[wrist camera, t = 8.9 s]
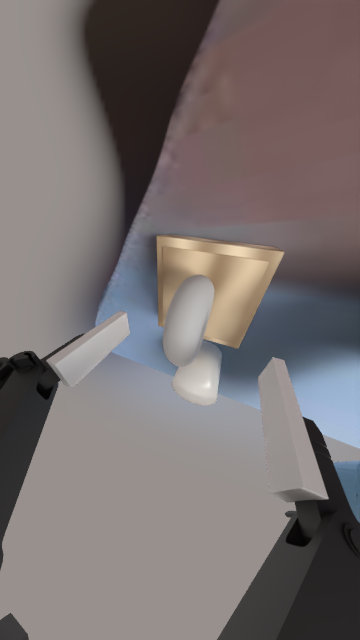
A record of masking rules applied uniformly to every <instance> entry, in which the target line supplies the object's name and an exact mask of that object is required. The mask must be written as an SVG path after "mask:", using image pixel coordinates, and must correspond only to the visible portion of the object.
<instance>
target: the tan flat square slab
mask: <svg viewBox="0 0 360 640" xmlns="http://www.w3.org/2000/svg"><path fill="white" fill-rule="evenodd" d="M283 254H284V252H283V251H282V250H280V249H278V248H276V247H269V246H261V245H253V244H245V243H237V242H228V241H220V240H212V239H204V238H196V237H187V236H179V235H171V234H168V235H159V236H157V276H158V326H161V327H164V324H165V320H166V315H167V312H168V309H169V306H170V303H171V301H172V298H173V296H174V294H175V292H176V290H177V289H178V287H179V286H180V285H181V283H182V282H183V281H184V280H185V279H187V278H188V277H191V276H193V275H204V276H206V277H208V278H209V279H210V280H211V282H212V283H213V286H214V290H215V292H214V300H213V305H212V309H211V313H210V317H209V320H208V324H207V328H206V331H205V334H204V338H203V339H206V340H209V341H213V342H216V343H219V344H223V345H226V346H230V347H233V348H236V349H239V346H240V344H241V342H242V340H243V338H244V336H245V334H246V332H247V330H248V328H249V326H250V323H251V321H252V319H253V317H254V315H255V313H256V311H257V309H258V307H259V305H260V303H261V300H262V298H263V296H264V294H265V292H266V290H267V288H268V286H269V284H270V282H271V280H272V277H273V275H274V273H275V271H276V269H277V267H278V265H279V263H280V261H281V259H282V257H283Z"/></svg>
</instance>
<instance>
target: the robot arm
mask: <svg viewBox="0 0 360 640" xmlns="http://www.w3.org/2000/svg"><path fill="white" fill-rule="evenodd" d="M129 334H130V330H129V324H128V318H127V313H126V312H123V311H119V312H117V313H116V314H114V315H113V316H111V317H110V318H108V319H107V320H105V321H104V322H102V323H101V324H99V325H98V326H96V327H95V328H93V329H92V330H90V331H89V332H88V333H86V334H81V335H79V336H77V337H75V338H73V339H72V340H70V342H67V343H66V344H65V345H62V346H61V347H59V348H58V349H56V350H55V351H53V352H52V353H50V354H49V355H47V356H46V357H44V358H42V359H41V360H40V359H39V358H38V357H37V356H36V354H35V353H34V352H32V351H24V352H21V353H18V354H16V355H14V356H12V357H11V358H9V359H8V358H5V357H3V358H0V569H1V565H2V562H3V551H2V541H3V537H4V534H5V531H6V529H7V526H8V523H9V520H10V518H11V515H12V512H13V509H14V507H15V504H16V501H17V498H18V496H19V493H20V490H21V487H22V485H23V482H24V479H25V476H26V473H27V471H28V468H29V465H30V463H31V460H32V457H33V454H34V451H35V448H36V446H37V443H38V440H39V438H40V435H41V432H42V429H43V427H44V424H45V421H46V418H47V415H48V413H49V410H50V407H51V405H52V401H53V399H54V396H55V393H56V391H57V388H58V382H59V381H60V380H61V381H62V382H63V383H64V384H65V385H66V386H68V387H70V388H73V387H74V386H75V385H76V384H77V383H78V382H79V381H80V380H81V379H82V378H83V377H84V376H86V374H88V373H89V372H90V371H91V370H92V369H93V368H94V367H95V366H96V365H97V364H98V363H99V362H100V361H101V360H103V359H104V358H105V357H106V356H107V355H108V354H109V353H110V352H111V351H112V350H113V349H114V348H115V347H116V346H118V345H119V344H120V343H121V342H122V341H123V340H124V339H125V338H126V337H127V336H128V335H129ZM258 384H259V394H260V403H261V413H262V422H263V432H264V441H265V451H266V460H267V470H268V478H269V489H270V493H271V494H273V495H275V496H276V497H278V498H280V499H282V500H284V501H286V502H295V505H296V510H297V511H288V512H286V513H285V515H286V516H287V517H291V519H290V521H289V522H288V524H287V526H286V527H285V529H284V530H283V532H282V534H281V535H280V537H279V539H278V540H277V542H276V544H275V545H274V547H273V549H272V550H271V552H270V554H269V555H268V557H267V558H266V560H265V562H264V563H263V565H262V567H261V569H260V570H259V572H258V573H257V575H256V577H255V578H254V580H253V581H252V583H251V585H250V586H249V588H248V590H247V591H246V593H245V595H244V596H243V598H242V600H241V601H240V603H239V605H238V606H237V608H236V609H235V611H234V613H233V614H232V616H231V618H230V619H229V621H228V623H227V624H226V626H225V628H224V629H223V631H222V633H221V634H220V636H219V637H218V639H217V640H360V461H345V462H336V463H333V461H332V460H331V456H330V453H329V451H328V449H327V448H326V447H327V446H326V443H325V441H324V438H323V435H322V433H321V432H320V430H319V429H318V427H317V426H316V424H315V423H314V421H312V420H309V419H307V418H304V417H302V414H301V411H300V408H299V405H298V402H297V398H296V395H295V392H294V389H293V386H292V383H291V380H290V377H289V374H288V370H287V367H286V364H285V361H284V360H281V359H278V358H275V357H273V358H272V359H271V360H270V362H269V363H268V364H267V366H266V367H265V369H264V370H263V371H262V373H261V374H260V376H259V377H258ZM0 640H29V638H28V634H27V633H26V632H25V631H24V629H23V628H22V627H21V625H20V624H19V623H18V622H17V620H16V619H15V618H14V617H13V615H12V614H11V613H10V614H8V615H7V616H5V617H4V618H2V619H1V620H0Z"/></svg>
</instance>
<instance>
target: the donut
mask: <svg viewBox="0 0 360 640" xmlns="http://www.w3.org/2000/svg"><path fill="white" fill-rule="evenodd" d="M214 292H215V290H214V286H213V283H212V282H211V280H210V279H209V278H208V277H206V276H204V275H193V276H191V277H188V278H187V279H185V280H184V281H183V282H182V283H181V285H180V286H179V287H178V289H177V290H176V292H175V294H174V296H173V298H172V301H171V303H170V306H169V309H168V312H167V315H166V320H165V324H164V331H163V349H164V353H165V356H166V357H167V358H168V360H169V361H170V362H171V363H172V364H174V365H175V366H180V367H183V366H187V365H189V364H191V363H192V362H193V361H194V360H195V359H196V357H197V354H198V352H199V350H200V347H201V344H202V341H203V338H204V334H205V331H206V328H207V324H208V320H209V317H210V313H211V309H212V305H213V300H214Z"/></svg>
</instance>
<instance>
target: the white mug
mask: <svg viewBox="0 0 360 640" xmlns="http://www.w3.org/2000/svg"><path fill="white" fill-rule="evenodd" d="M221 362H222V353H221V351H220V350H219V348H218V347H217V346H215V345H214V344H212V343H210V342H208V341H202V344H201V347H200V350H199V352H198V354H197V357H196V359H195V360H194V361H193V362H192V363H191V364H189V365H187V366H183V367H180V366H179V367H178V369H177V371H176V374H175V376H174V378H173V381H172V387H173V389H174V391H175V392H176V393H177V394H178V395H179V396H180V397H182V398H183V399H185V400H187V401H189V402H191V403H194V404H197V405H211V404H214V403H215V402H216V400H217V393H218V386H219V378H220V370H221Z"/></svg>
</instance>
